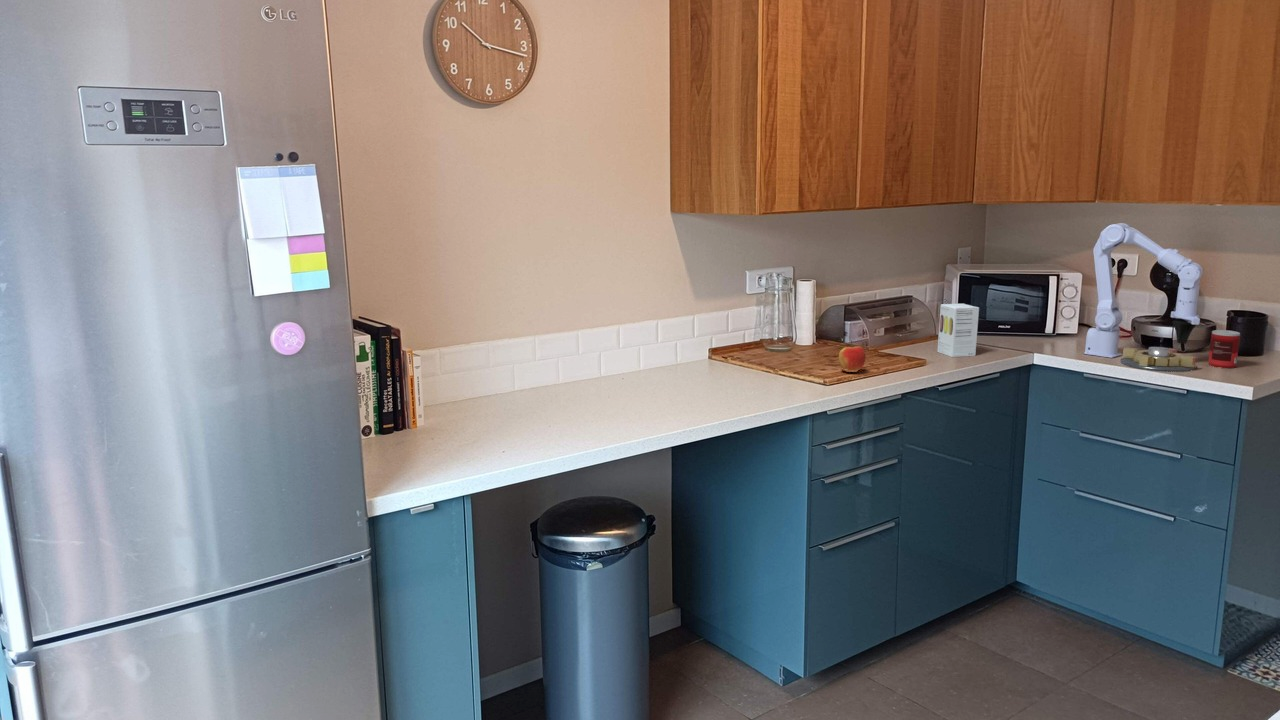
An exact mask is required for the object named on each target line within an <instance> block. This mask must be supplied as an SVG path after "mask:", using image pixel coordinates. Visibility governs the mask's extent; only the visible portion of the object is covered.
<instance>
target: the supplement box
mask: <svg viewBox="0 0 1280 720" xmlns="http://www.w3.org/2000/svg"><path fill="white" fill-rule="evenodd" d="M939 311H940V313H939V323H938V324H939V325H938V337H937V338H938V339H937V353H939V354H942V355H945V356H948V357H951V358H959V357H975V356H976V353H977V352H976V349H977V339H978V326H979V313H980V307H978V306H975V305H974V306H973V305H971V304H966V303H943V304H940V309H939Z"/></svg>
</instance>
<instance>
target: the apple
mask: <svg viewBox="0 0 1280 720" xmlns="http://www.w3.org/2000/svg"><path fill="white" fill-rule="evenodd" d="M850 342H851V344H853V341H852V340H850ZM866 358H867V357H866V352H865V349H864V348H863V347H862V346H860V345H856V346H845V347H843V348H842V349H841V350H840V351H839V354H838V361H839V366H840V368H841V369H842V368H843V369H848V370H859V369H863V367H864V365H865V363H866ZM843 369H842V370H843Z"/></svg>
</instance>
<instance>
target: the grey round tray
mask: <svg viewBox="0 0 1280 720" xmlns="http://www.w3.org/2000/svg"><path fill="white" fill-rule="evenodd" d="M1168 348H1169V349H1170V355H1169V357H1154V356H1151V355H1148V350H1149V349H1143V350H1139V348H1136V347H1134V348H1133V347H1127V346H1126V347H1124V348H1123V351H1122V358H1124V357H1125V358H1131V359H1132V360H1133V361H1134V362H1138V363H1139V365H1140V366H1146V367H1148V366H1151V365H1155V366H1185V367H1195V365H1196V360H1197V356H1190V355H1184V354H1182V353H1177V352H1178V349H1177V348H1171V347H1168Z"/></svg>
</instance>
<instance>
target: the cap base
mask: <svg viewBox="0 0 1280 720" xmlns="http://www.w3.org/2000/svg"><path fill="white" fill-rule="evenodd" d="M1169 348H1170V347H1165V346H1164V347H1162V346H1149V347H1148V349H1147V350H1148V355H1151V356H1154V357H1169V355H1170V349H1169ZM1120 363H1121V364H1122V365H1124V366H1127V367H1131V368H1134V369H1140V370H1145V369H1146V370H1147V371H1153V370H1156V372H1167V371H1168V373H1169V372H1171V371H1172V372H1171V373H1173V371H1174V373H1175V371H1176V373H1178V372H1179V373H1180V372H1181V373H1182V372H1190V371H1191V370H1192V371H1195V368H1197V366H1196V364H1195V367H1185V366H1155V365H1151V366H1148V367H1146V366H1140V365H1139V363H1138V362H1134V361H1133V360H1132V359H1131V358H1125V357H1122V358H1121V359H1120Z"/></svg>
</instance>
